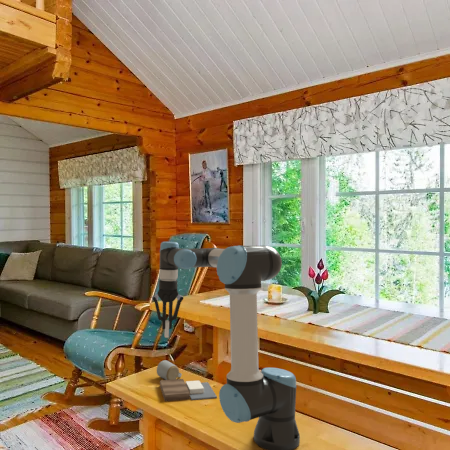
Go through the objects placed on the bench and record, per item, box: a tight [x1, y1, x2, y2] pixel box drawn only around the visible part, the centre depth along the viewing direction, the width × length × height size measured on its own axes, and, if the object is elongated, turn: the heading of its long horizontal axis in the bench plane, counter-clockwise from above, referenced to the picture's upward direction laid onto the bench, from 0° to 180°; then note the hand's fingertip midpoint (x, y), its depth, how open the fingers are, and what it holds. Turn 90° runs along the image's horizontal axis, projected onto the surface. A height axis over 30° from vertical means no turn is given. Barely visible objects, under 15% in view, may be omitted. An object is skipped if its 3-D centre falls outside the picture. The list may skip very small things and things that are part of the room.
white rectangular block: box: [185, 380, 204, 394], centre depth 187 cm, size 9×6×2 cm, turn 16°
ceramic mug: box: [156, 359, 183, 380], centre depth 200 cm, size 11×8×8 cm
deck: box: [159, 378, 191, 402], centre depth 185 cm, size 16×10×2 cm, turn 15°
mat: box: [190, 381, 218, 401], centre depth 186 cm, size 16×10×1 cm, turn 15°
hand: (166, 336), depth 182 cm, fingers closed
